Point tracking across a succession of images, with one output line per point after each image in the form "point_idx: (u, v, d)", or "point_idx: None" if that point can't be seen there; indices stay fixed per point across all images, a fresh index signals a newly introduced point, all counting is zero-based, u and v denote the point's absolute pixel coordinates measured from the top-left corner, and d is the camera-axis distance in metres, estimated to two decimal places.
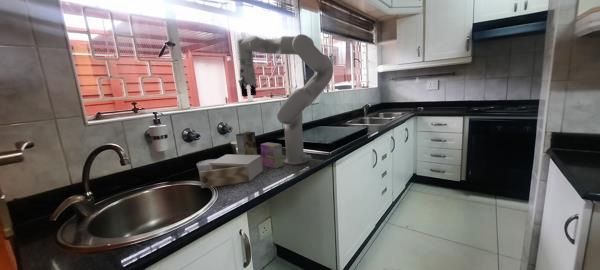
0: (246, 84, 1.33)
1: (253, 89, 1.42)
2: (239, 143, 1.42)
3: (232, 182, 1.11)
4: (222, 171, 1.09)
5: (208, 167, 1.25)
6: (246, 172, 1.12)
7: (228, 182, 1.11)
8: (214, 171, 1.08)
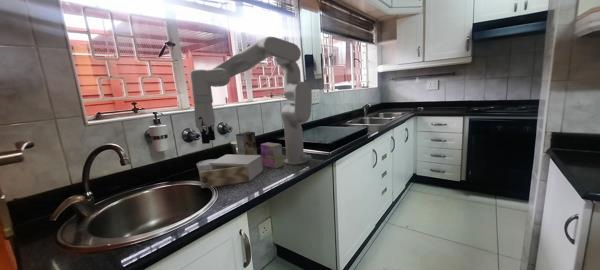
0: None
1: None
2: (239, 143, 1.42)
3: (232, 182, 1.11)
4: (222, 171, 1.09)
5: (208, 167, 1.25)
6: (246, 172, 1.12)
7: (228, 182, 1.11)
8: (214, 171, 1.08)
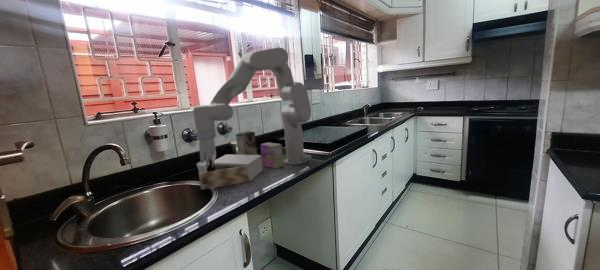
0: None
1: None
2: (239, 143, 1.42)
3: (232, 182, 1.11)
4: (222, 172, 1.08)
5: None
6: (246, 172, 1.12)
7: (228, 183, 1.10)
8: (214, 172, 1.07)
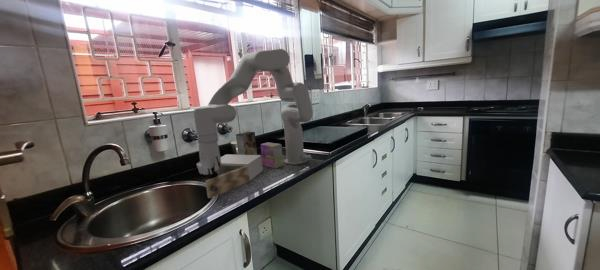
0: None
1: None
2: (239, 143, 1.42)
3: (236, 185, 1.07)
4: (228, 175, 1.04)
5: None
6: (247, 172, 1.12)
7: (233, 186, 1.06)
8: (221, 177, 1.01)
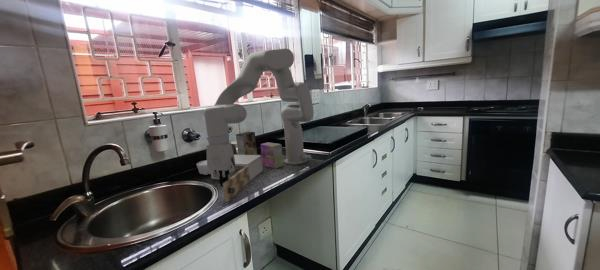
0: (217, 170, 0.97)
1: None
2: (239, 143, 1.42)
3: (243, 186, 1.06)
4: (237, 176, 1.02)
5: None
6: (248, 172, 1.12)
7: (241, 187, 1.05)
8: (233, 178, 0.99)
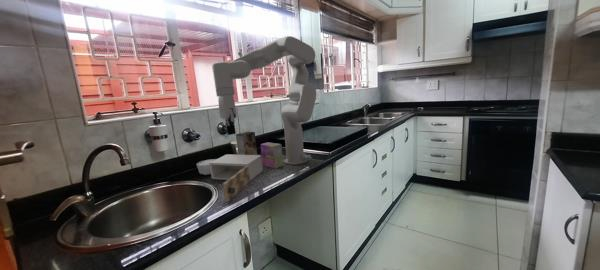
0: (225, 119, 1.11)
1: None
2: (239, 143, 1.42)
3: (243, 186, 1.06)
4: (237, 176, 1.02)
5: (208, 167, 1.25)
6: (248, 172, 1.12)
7: (241, 187, 1.05)
8: (233, 178, 0.99)
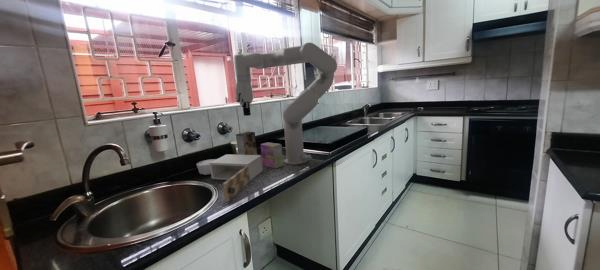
0: None
1: None
2: (239, 143, 1.42)
3: (243, 186, 1.06)
4: (237, 176, 1.02)
5: (208, 167, 1.25)
6: (248, 172, 1.12)
7: (241, 187, 1.05)
8: (233, 178, 0.99)
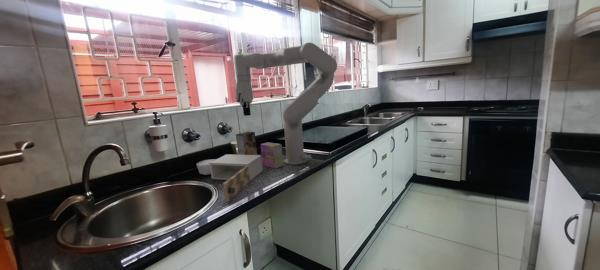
0: None
1: None
2: (239, 143, 1.42)
3: (243, 186, 1.06)
4: (237, 176, 1.02)
5: (208, 167, 1.25)
6: (248, 172, 1.12)
7: (241, 187, 1.05)
8: (233, 178, 0.99)
